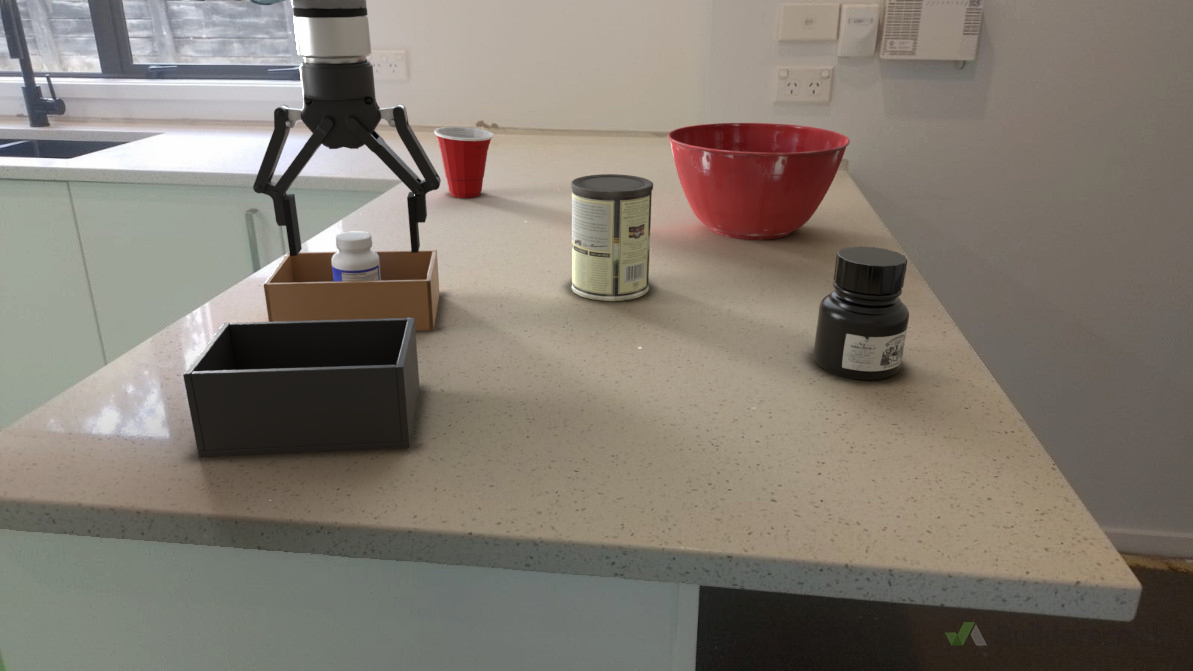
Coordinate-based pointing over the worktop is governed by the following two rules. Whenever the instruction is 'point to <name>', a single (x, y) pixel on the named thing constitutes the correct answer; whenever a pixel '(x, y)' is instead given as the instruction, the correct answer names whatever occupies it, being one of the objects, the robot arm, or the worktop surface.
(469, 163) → the plastic cup
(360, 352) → the open box
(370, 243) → the pill bottle
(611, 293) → the coffee can
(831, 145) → the mixing bowl
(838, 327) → the ink bottle
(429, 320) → the carton
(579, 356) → the worktop surface
